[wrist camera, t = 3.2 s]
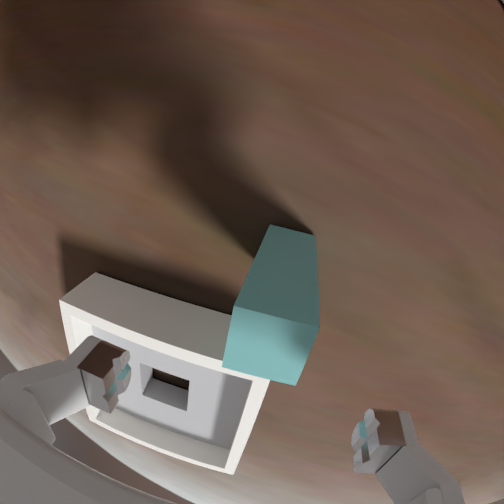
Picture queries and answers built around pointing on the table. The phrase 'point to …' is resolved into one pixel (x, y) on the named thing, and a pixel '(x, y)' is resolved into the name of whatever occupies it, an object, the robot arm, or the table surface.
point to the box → (170, 361)
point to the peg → (276, 309)
